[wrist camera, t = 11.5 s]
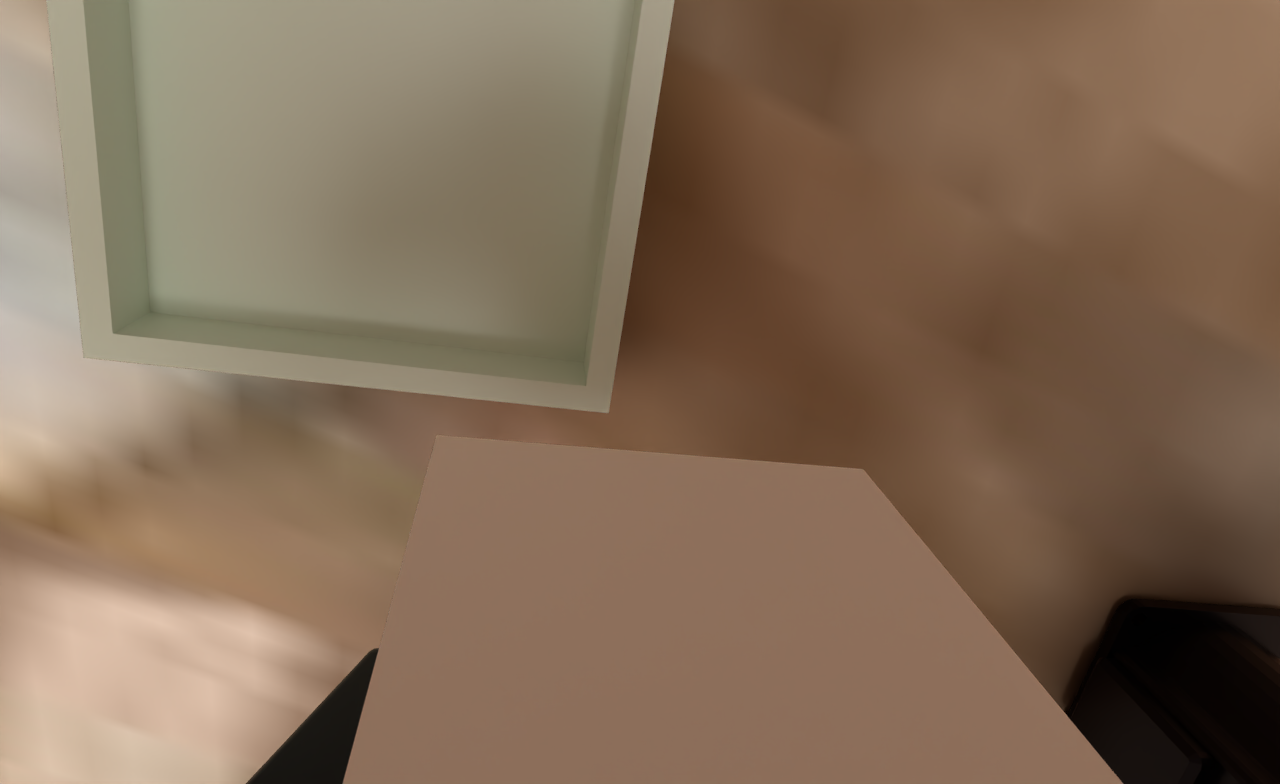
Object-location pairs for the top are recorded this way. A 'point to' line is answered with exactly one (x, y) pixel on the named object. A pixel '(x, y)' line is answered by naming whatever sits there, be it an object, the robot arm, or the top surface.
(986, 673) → the cream block
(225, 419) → the top surface
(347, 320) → the tray
